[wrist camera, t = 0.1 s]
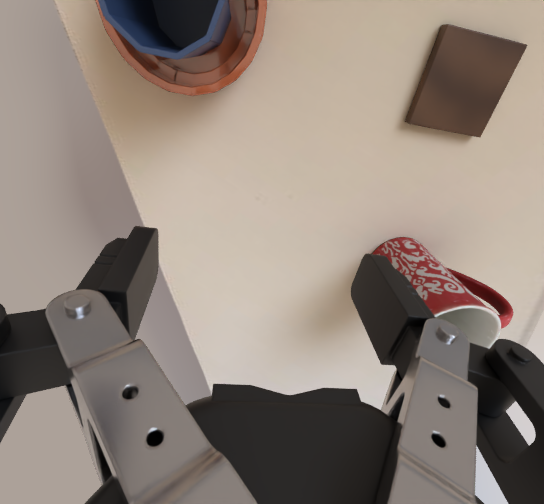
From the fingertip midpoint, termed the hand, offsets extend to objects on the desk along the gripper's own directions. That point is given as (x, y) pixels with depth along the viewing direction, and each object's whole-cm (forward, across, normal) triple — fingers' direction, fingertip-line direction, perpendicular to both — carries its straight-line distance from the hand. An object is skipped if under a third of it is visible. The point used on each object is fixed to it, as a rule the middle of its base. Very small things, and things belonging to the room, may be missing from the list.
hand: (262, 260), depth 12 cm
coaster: (+22, -19, -8) cm, 30 cm away
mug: (+22, -23, +12) cm, 34 cm away
